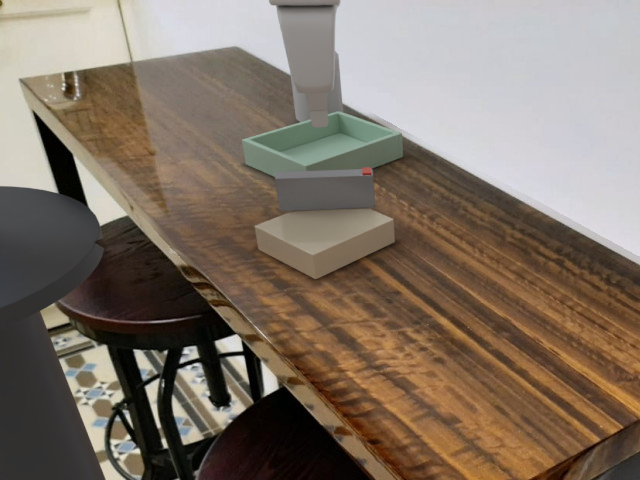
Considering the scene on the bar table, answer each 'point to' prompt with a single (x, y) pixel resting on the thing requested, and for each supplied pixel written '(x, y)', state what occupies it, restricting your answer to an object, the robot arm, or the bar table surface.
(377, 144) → the green tray
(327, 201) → the slate gray plank
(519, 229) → the bar table surface
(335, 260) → the block
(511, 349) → the bar table surface
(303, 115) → the can
